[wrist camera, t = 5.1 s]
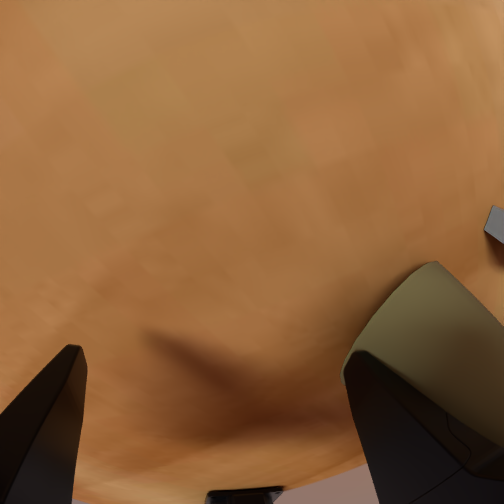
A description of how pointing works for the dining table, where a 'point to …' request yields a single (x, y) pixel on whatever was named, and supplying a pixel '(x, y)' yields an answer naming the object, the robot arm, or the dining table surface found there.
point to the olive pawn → (442, 347)
